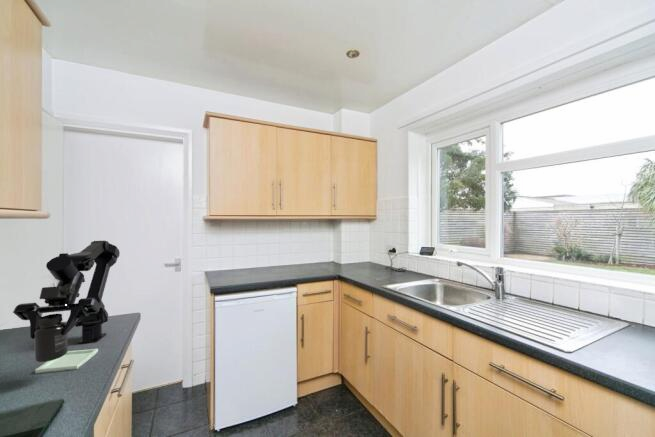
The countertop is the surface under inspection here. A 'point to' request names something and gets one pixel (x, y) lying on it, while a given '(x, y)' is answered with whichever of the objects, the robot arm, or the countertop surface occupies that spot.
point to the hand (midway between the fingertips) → (48, 336)
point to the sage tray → (67, 361)
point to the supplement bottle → (50, 338)
